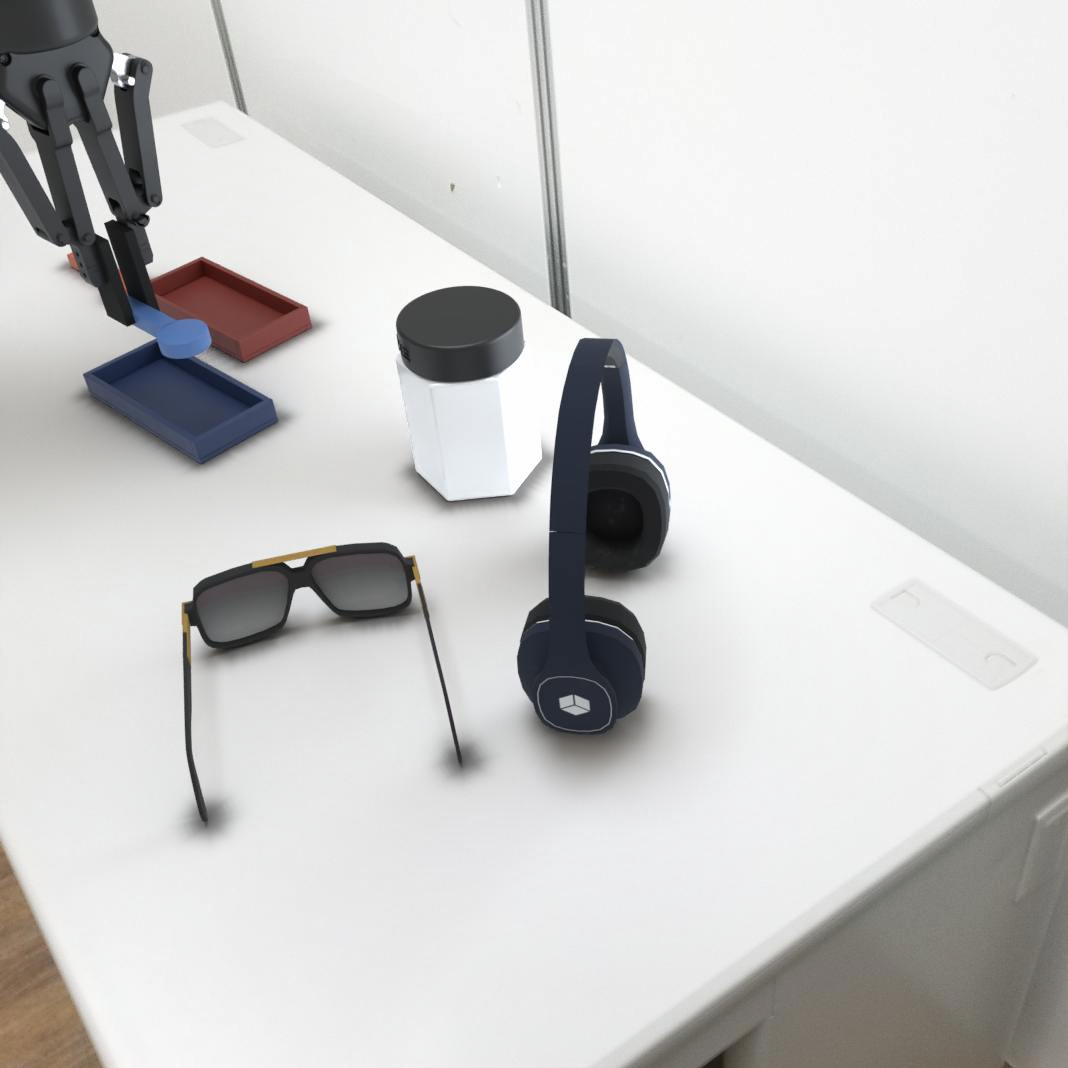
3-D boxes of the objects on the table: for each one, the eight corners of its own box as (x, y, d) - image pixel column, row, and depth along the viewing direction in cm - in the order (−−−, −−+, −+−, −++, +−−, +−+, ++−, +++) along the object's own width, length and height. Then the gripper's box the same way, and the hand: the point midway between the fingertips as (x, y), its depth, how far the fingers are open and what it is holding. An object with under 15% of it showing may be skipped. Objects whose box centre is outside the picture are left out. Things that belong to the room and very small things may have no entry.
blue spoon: (97, 318, 92) (92, 304, 92) (138, 299, 94) (134, 285, 94) (179, 364, 87) (174, 349, 86) (221, 343, 89) (217, 328, 88)
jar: (459, 420, 92) (437, 273, 84) (557, 443, 89) (545, 292, 81) (396, 489, 86) (366, 338, 78) (500, 515, 83) (480, 361, 75)
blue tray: (90, 394, 97) (82, 373, 96) (165, 357, 101) (159, 336, 100) (201, 464, 89) (193, 442, 88) (278, 420, 93) (272, 399, 92)
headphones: (572, 522, 82) (551, 270, 70) (675, 527, 82) (673, 273, 69) (515, 750, 68) (477, 483, 56) (640, 760, 67) (629, 491, 55)
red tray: (140, 307, 107) (133, 287, 106) (207, 275, 111) (202, 256, 110) (244, 362, 100) (238, 342, 98) (312, 327, 103) (307, 306, 102)
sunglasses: (203, 825, 65) (176, 764, 62) (196, 634, 76) (174, 573, 73) (463, 764, 67) (452, 702, 64) (420, 587, 78) (408, 526, 75)
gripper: (-65, 13, 70) (74, 371, 86) (151, -50, 78) (243, 290, 94) (-124, -9, 74) (19, 338, 90) (88, -67, 82) (186, 262, 98)
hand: (133, 313), depth 92 cm, fingers closed on blue spoon
